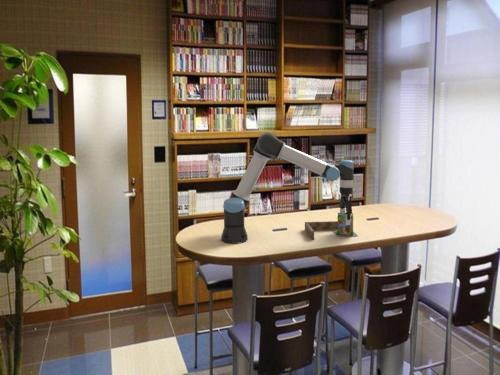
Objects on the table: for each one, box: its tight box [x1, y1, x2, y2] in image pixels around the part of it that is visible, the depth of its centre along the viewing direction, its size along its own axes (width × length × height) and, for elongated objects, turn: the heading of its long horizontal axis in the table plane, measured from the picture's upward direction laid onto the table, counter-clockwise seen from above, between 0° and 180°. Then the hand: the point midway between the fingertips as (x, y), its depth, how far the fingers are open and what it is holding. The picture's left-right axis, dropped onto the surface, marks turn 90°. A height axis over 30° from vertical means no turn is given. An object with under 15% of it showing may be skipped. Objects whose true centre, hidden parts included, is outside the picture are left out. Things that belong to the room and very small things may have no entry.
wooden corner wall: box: [304, 220, 338, 241], centre depth 273 cm, size 29×22×5 cm
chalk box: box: [336, 208, 354, 235], centre depth 273 cm, size 9×9×15 cm
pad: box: [332, 230, 358, 238], centre depth 274 cm, size 12×12×1 cm
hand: (344, 222), depth 273 cm, fingers open, 13 cm apart
